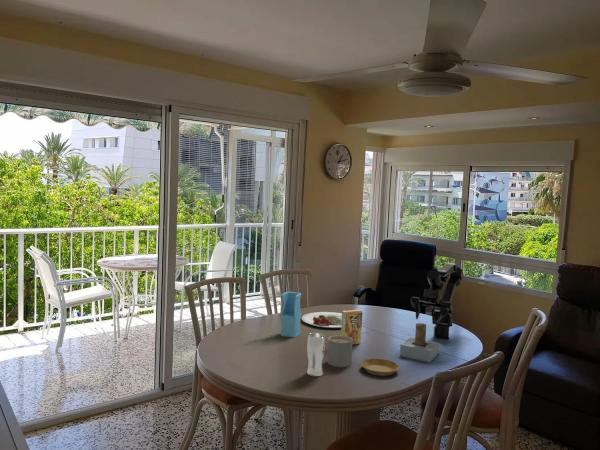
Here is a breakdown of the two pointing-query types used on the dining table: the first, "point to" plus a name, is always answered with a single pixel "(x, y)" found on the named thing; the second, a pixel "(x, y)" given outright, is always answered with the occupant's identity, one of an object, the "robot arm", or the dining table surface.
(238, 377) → the dining table surface
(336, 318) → the plated food
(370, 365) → the plant saucer
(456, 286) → the robot arm
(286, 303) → the vase
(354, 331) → the candy box
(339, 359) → the coffee mug
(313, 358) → the beer glass
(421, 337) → the walnut peg
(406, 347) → the socket block
